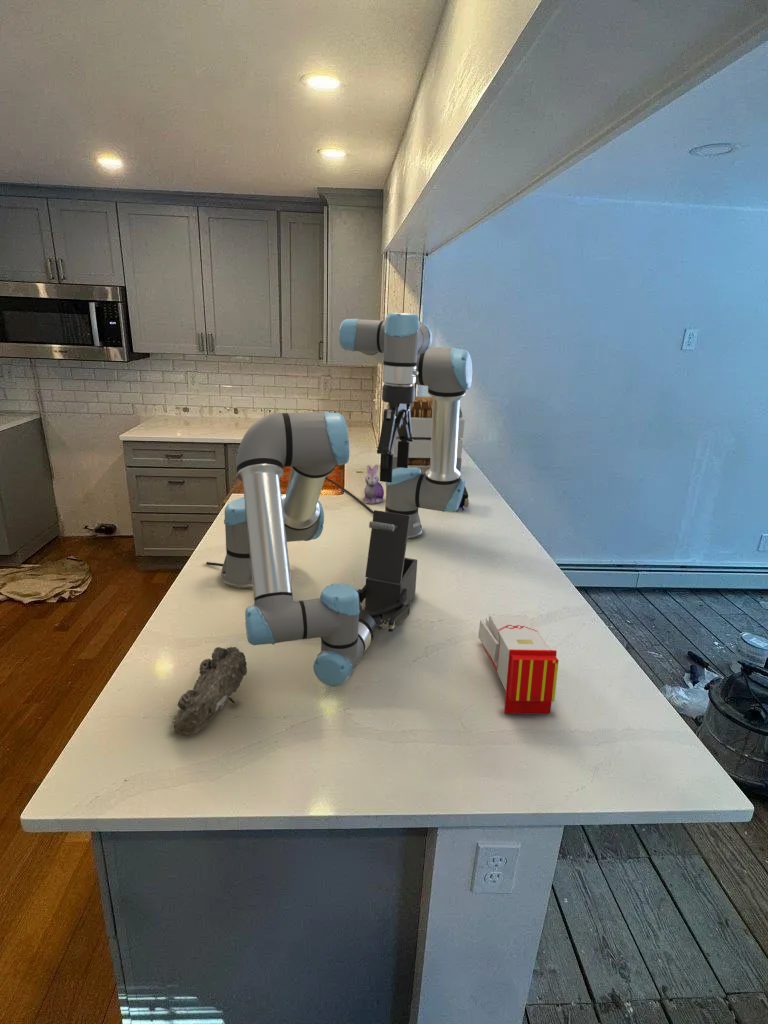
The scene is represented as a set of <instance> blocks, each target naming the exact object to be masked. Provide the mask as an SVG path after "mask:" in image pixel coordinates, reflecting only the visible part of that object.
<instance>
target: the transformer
mask: <svg viewBox="0 0 768 1024" xmlns="http://www.w3.org/2000/svg"><path fill="white" fill-rule="evenodd" d="M387 403H388V402H387ZM432 403H433V398H432V397H431V396H415V400H414V402H413V403H410V404H411V406H410V413H411V426H412V437H413V441H412V442H410V441H408V442H409V457H408V467H417V466H418V467H430V458H431V430H432ZM389 406H390V405H389V403H388V404H387V405H386V409H389ZM464 429H465V419H464V418H463V411H462V408H461V407H460V411H459V428H458V444H457V461H456V469H457V470H458V471H459V472H460V475H461V472H462V461H463V460H462V453H463V442H464V441H463V440H462V439H463V438H464V431H465V430H464ZM398 441H401V440H400V439H399V435H398V431H397V435H396V438H395V442H394V446H393V450H392V454H393V469H396V468H401V467H397V452H398ZM393 469H392V470H393Z"/></svg>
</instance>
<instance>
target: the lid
mask: <svg viewBox="0 0 768 1024" xmlns="http://www.w3.org/2000/svg"><path fill="white" fill-rule="evenodd" d="M373 511H374V514H373V513H372V520H370V521H369V523H368V528H369V529H370V537H369V545H368V551H367V552H368V553H367V559H366V569H365V574H364V575H365V576H364V577H365V578H367V577H368V578H373V579H379V580H384V581H389V582H395V583H401V582H402V575H403V567H404V560H405V558H406V552H407V543H408V540H407V538H408V530H409V523H410V515H403V514H397V513H390V512H385V510H384V511H383V510H376V509H375V510H373Z"/></svg>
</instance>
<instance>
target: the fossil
mask: <svg viewBox="0 0 768 1024" xmlns="http://www.w3.org/2000/svg"><path fill="white" fill-rule="evenodd" d="M247 666H248V664H247V658H246V655H245V653H244V652H242V651H240V650H239V648H238V647H236V646H230V647H226V648H225V647H221V646H216V647H215V648H214V649H213V652H212V653H211V658H207V659H203V660H202V662H200V663H199V676H198V677H197V679H196V681H195V683H194V686H193V689H188V690H187V691H186V692H185V693H183V694H182V695H181V696H180V698H179V700H178V701H177V706H178V708H179V711H178V712H177V714H176V715H174V717H173V722H172V727H173V732H174V733H178V734H180V735H182V736H183V735H187V734H193V733H195V734H197V733H198V732H199V731H200V730H201V729H202V728H203V727H204V726H205V725H207V724H208V723H209V722H210V720H212V719H213V718H214V717H215V716H216V715H217V714H218V713H219V712H221V710H222V709H223V708H224V705H225V704H226V703H228V701H230V703H232V704H233V705H235V704H236V701H235V700H234V699H233V698H232V695H233V693H235V692H236V693H237V691H238V690H239V688H240V687H241V684H242V682H243V680H244V679H245V678H244V677H245V676H247V674H248V668H247Z"/></svg>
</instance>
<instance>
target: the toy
mask: <svg viewBox="0 0 768 1024" xmlns="http://www.w3.org/2000/svg"><path fill="white" fill-rule="evenodd" d="M477 635H478V637H477V638H478V639H479V641H480V643H481V645H482V647H483V649H484V651H485V652H486V654H487V655H488V658H489V659H490V661H491V663H492V665H493V667H494V669H495V671H496V672H497V675H498V677H499V679H500V682H501V684H502V685H503V688H504V690H505V699H504V709H503V712H504V714H522V715H523V714H528V715H535V714H536V715H540V714H541V715H551V710H552V702H555V700H556V699H555V698H556V688H557V679H558V672H559V671H558V669H559V661H560V660H559V659H558V658H557V649H551V648H550V646H549V645H548V643H547V642H546V640H545V639H544V638H543V636H542V635H541V634H540V632H539V630H538V629H536V626H535V624H533V622H532V619H530V618H529V617H528V615H527V614H501V613H500V614H495V613H493V614H492V613H489V614H488V616H486V617H485V622H484V620H483V619H480V620H479V628H478V634H477Z"/></svg>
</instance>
